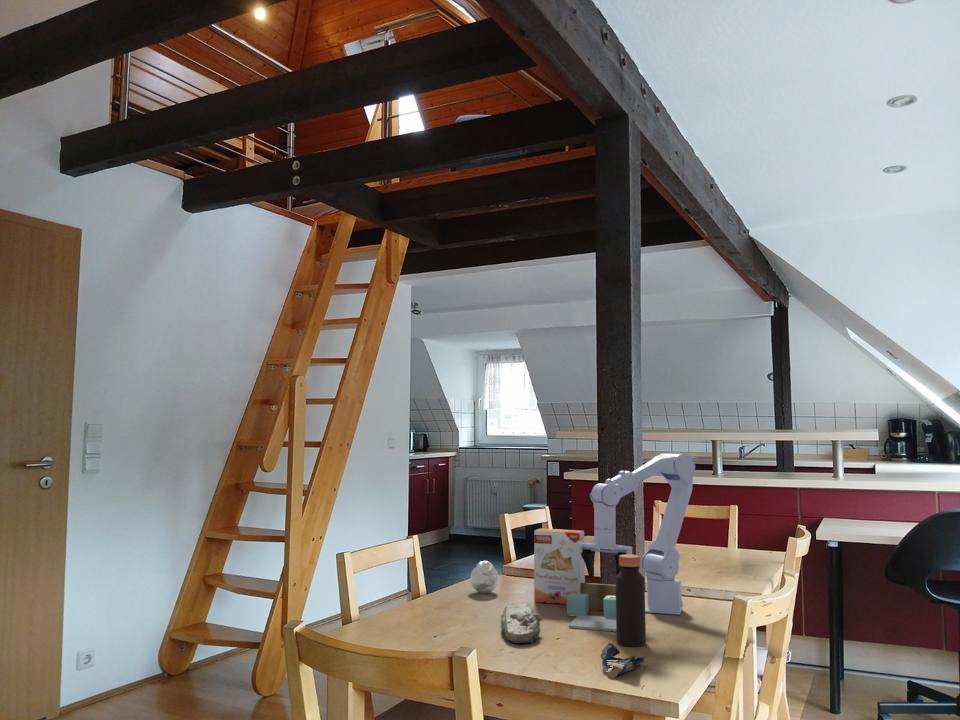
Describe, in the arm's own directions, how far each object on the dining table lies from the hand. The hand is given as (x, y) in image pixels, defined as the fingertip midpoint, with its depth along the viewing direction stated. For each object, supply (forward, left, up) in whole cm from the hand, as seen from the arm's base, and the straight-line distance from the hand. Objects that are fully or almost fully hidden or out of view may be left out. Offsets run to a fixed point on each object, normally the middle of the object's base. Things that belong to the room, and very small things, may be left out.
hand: (604, 579), depth 200 cm
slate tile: (+1, +8, -10) cm, 13 cm away
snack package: (-11, +44, -11) cm, 46 cm away
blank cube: (+8, -2, -10) cm, 13 cm away
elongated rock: (+19, +17, -10) cm, 28 cm away
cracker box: (+16, -14, -10) cm, 23 cm away
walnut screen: (+2, -8, -10) cm, 13 cm away
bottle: (-10, +23, -10) cm, 27 cm away
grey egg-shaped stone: (+41, -19, -10) cm, 46 cm away
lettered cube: (-2, -2, -10) cm, 10 cm away
